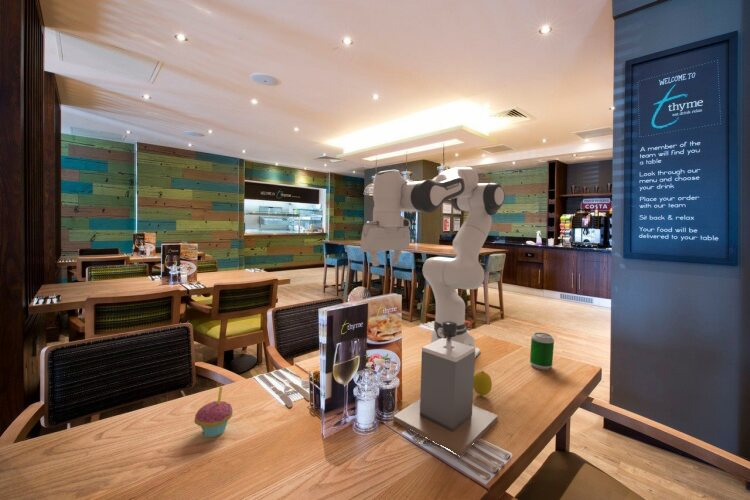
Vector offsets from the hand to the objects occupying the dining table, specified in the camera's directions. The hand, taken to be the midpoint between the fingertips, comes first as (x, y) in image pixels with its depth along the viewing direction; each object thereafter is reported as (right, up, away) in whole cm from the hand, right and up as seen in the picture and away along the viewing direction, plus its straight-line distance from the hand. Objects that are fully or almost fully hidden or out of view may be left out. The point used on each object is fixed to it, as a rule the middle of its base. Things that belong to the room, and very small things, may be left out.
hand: (385, 264), depth 110 cm
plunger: (+16, -39, -18) cm, 46 cm away
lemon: (+29, -41, -5) cm, 50 cm away
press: (+16, -41, -18) cm, 48 cm away
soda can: (+58, -39, +17) cm, 72 cm away
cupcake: (-44, -41, -24) cm, 65 cm away
